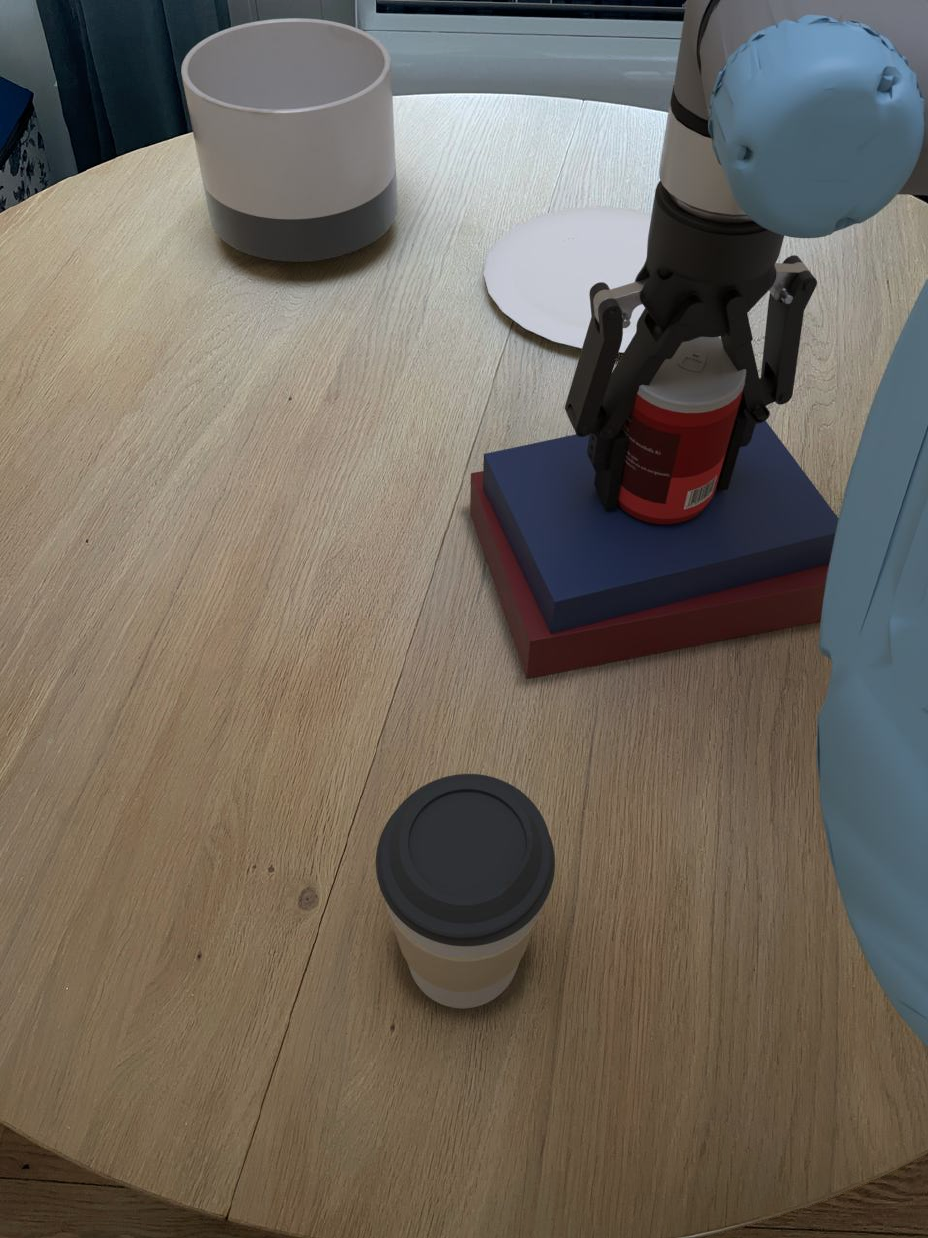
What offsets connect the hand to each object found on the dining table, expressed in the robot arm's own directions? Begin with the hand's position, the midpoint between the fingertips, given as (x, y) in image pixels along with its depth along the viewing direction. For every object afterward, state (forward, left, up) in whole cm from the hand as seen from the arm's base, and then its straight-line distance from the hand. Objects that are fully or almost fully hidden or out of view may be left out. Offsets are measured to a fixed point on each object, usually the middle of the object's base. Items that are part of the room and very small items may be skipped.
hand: (660, 486), depth 75 cm
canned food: (0, 0, 0) cm, 0 cm away
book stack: (0, 0, -8) cm, 8 cm away
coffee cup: (-27, +21, -9) cm, 35 cm away
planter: (+52, +19, -9) cm, 56 cm away
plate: (+36, -9, -9) cm, 38 cm away
